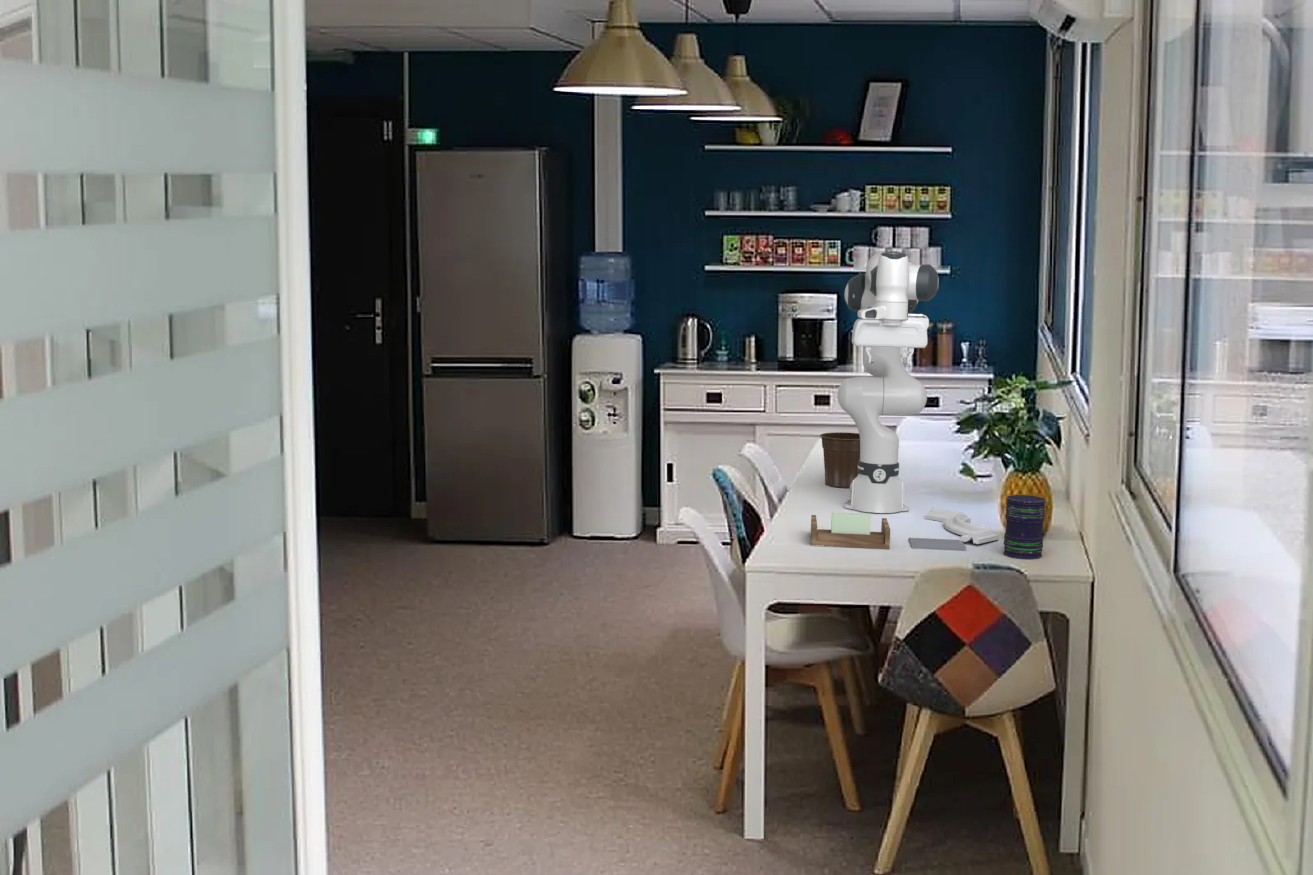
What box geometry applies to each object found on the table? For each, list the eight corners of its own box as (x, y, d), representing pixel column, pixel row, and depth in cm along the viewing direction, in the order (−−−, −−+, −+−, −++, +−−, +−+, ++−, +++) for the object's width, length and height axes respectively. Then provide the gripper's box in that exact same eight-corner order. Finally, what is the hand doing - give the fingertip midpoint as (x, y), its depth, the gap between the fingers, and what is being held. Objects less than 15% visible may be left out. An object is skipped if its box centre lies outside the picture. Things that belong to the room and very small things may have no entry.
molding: (921, 517, 468) (921, 507, 468) (962, 517, 470) (962, 507, 469) (963, 544, 426) (964, 533, 426) (1008, 544, 428) (1009, 534, 427)
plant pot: (813, 487, 514) (815, 436, 511) (823, 479, 529) (825, 430, 527) (864, 491, 509) (866, 440, 507) (872, 483, 524) (875, 434, 522)
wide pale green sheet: (830, 538, 426) (831, 511, 425) (869, 539, 425) (870, 513, 424) (831, 540, 423) (832, 513, 422) (869, 541, 422) (870, 515, 422)
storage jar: (1003, 558, 413) (1006, 500, 411) (1002, 550, 423) (1005, 494, 421) (1043, 560, 412) (1047, 502, 409) (1041, 553, 421) (1045, 496, 419)
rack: (810, 533, 437) (811, 514, 436) (885, 537, 435) (886, 518, 435) (811, 545, 421) (812, 526, 420) (889, 549, 420) (890, 529, 419)
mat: (908, 539, 433) (908, 537, 433) (961, 542, 432) (961, 540, 432) (911, 548, 422) (912, 545, 422) (966, 550, 421) (966, 548, 421)
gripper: (927, 313, 440) (924, 364, 442) (852, 310, 440) (849, 361, 441) (931, 314, 434) (928, 365, 436) (855, 311, 433) (852, 363, 435)
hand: (888, 363), depth 438 cm, fingers open, 8 cm apart
